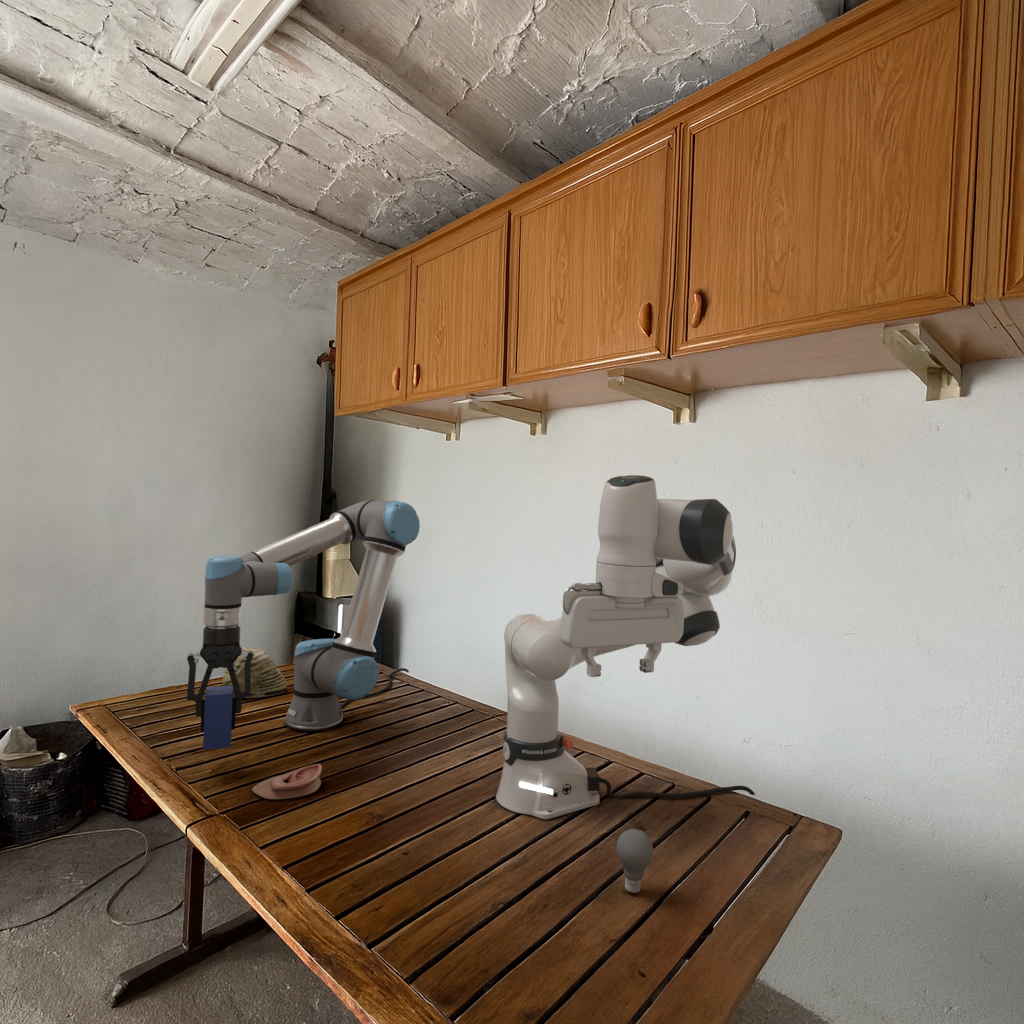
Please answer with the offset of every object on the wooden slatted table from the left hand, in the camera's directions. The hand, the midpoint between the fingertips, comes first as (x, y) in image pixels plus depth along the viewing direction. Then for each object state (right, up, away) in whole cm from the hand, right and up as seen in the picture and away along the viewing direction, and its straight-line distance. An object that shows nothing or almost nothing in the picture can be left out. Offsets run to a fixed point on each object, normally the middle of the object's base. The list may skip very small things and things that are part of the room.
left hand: (218, 728), depth 142 cm
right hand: (+82, +24, -46) cm, 97 cm away
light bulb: (+86, -15, -36) cm, 94 cm away
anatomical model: (+17, -11, -5) cm, 21 cm away
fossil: (-15, -9, +56) cm, 59 cm away
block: (0, -3, 0) cm, 3 cm away
